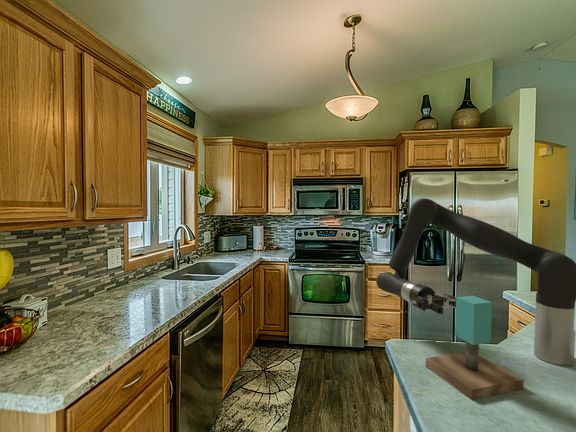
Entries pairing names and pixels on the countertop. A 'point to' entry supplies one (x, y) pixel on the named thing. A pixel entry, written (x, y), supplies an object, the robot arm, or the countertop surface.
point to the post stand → (474, 373)
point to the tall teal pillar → (473, 319)
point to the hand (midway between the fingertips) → (454, 309)
